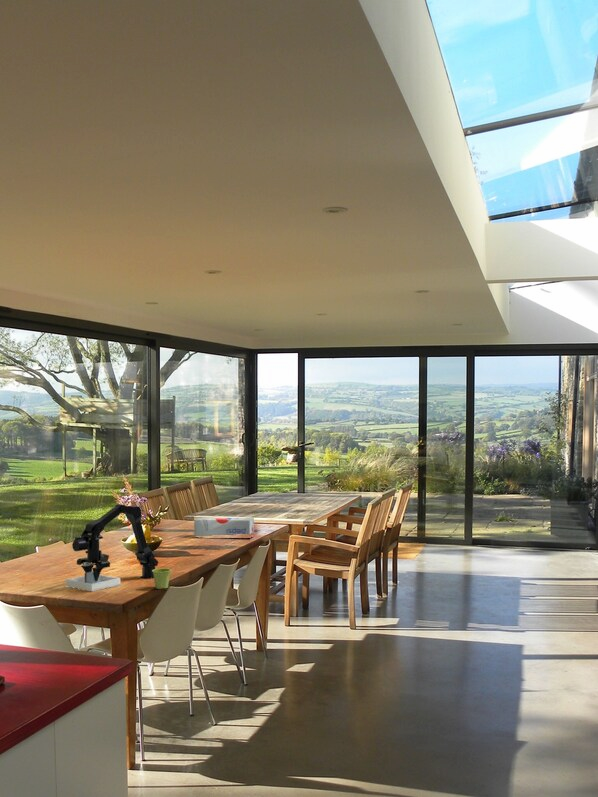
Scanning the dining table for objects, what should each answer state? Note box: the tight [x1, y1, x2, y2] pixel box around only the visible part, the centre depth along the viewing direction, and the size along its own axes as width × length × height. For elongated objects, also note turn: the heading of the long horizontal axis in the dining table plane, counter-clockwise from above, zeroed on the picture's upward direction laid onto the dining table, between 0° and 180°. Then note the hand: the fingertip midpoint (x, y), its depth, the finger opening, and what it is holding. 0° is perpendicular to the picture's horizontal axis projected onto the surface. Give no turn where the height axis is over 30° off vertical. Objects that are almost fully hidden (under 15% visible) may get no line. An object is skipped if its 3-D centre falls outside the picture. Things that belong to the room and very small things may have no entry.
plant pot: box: [152, 568, 172, 590], centre depth 385 cm, size 9×9×9 cm
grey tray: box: [64, 574, 121, 592], centre depth 389 cm, size 20×18×4 cm
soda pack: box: [193, 517, 255, 537], centre depth 546 cm, size 41×13×14 cm, turn 80°
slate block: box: [87, 570, 101, 584], centre depth 383 cm, size 4×4×5 cm
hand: (93, 580), depth 383 cm, fingers closed on slate block, 4 cm apart
